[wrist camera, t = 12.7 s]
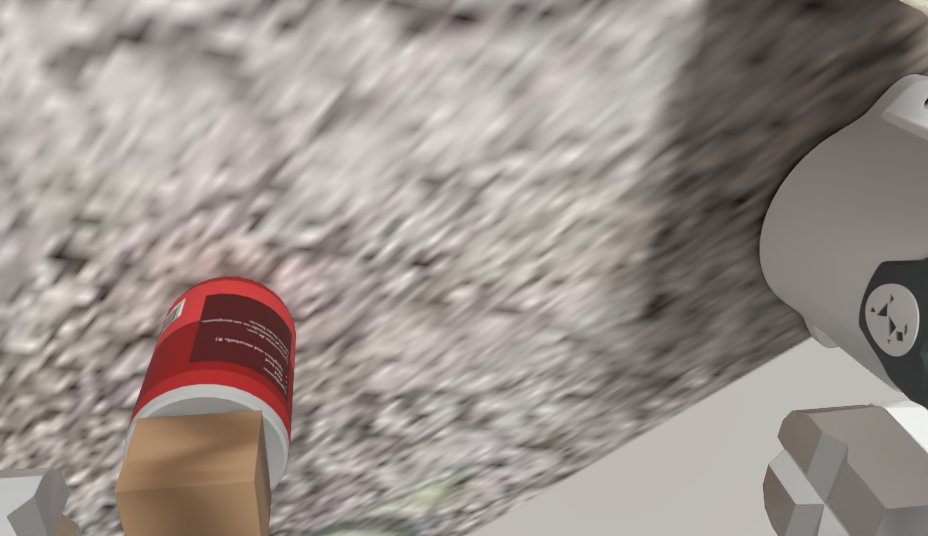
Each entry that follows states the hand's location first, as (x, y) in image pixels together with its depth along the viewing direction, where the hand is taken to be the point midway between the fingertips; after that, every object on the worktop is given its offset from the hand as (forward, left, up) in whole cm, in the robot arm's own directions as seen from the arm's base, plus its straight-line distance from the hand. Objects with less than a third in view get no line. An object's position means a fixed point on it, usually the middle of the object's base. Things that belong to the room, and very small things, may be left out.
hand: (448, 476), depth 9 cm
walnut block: (+8, +20, -22) cm, 31 cm away
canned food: (+8, +20, -33) cm, 40 cm away
